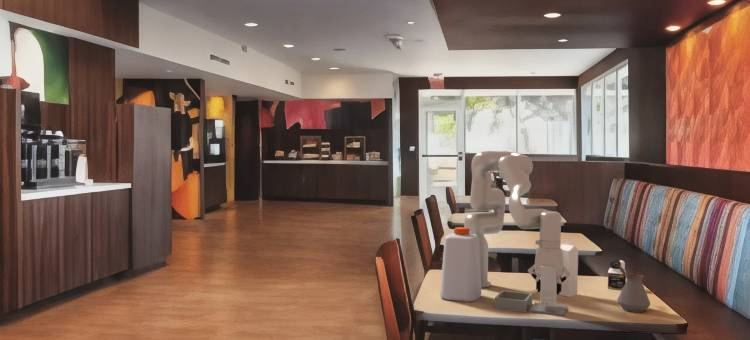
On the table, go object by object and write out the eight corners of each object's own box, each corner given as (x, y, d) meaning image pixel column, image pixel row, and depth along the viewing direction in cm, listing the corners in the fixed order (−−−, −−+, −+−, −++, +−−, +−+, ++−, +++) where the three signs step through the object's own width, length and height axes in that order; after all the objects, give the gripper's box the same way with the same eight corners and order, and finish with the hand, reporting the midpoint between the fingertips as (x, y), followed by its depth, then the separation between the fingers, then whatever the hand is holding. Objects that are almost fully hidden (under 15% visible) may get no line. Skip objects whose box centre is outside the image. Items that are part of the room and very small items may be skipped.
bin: (494, 308, 231) (494, 297, 231) (502, 300, 243) (502, 290, 243) (525, 311, 227) (526, 301, 226) (532, 303, 238) (532, 293, 238)
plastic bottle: (447, 291, 257) (448, 224, 256) (483, 294, 252) (484, 226, 251) (437, 299, 243) (438, 229, 242) (475, 303, 238) (476, 231, 237)
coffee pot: (656, 313, 227) (657, 273, 226) (625, 313, 226) (626, 273, 225) (629, 298, 248) (630, 261, 247) (601, 298, 247) (602, 261, 247)
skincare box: (556, 307, 225) (557, 267, 224) (539, 306, 226) (540, 265, 226) (557, 302, 233) (558, 262, 232) (540, 300, 234) (541, 261, 234)
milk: (568, 297, 249) (569, 243, 248) (555, 294, 254) (557, 241, 253) (577, 295, 253) (578, 241, 252) (565, 292, 258) (566, 239, 257)
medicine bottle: (607, 288, 265) (608, 261, 265) (608, 285, 272) (608, 258, 271) (625, 290, 262) (626, 262, 262) (625, 286, 269) (626, 259, 269)
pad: (529, 312, 226) (529, 309, 226) (535, 304, 237) (535, 302, 237) (563, 316, 221) (563, 313, 221) (567, 308, 232) (567, 306, 232)
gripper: (524, 244, 229) (523, 292, 229) (572, 248, 221) (571, 297, 222) (528, 241, 235) (527, 287, 236) (575, 245, 228) (574, 293, 229)
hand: (548, 292), depth 229 cm, fingers closed on skincare box, 6 cm apart
